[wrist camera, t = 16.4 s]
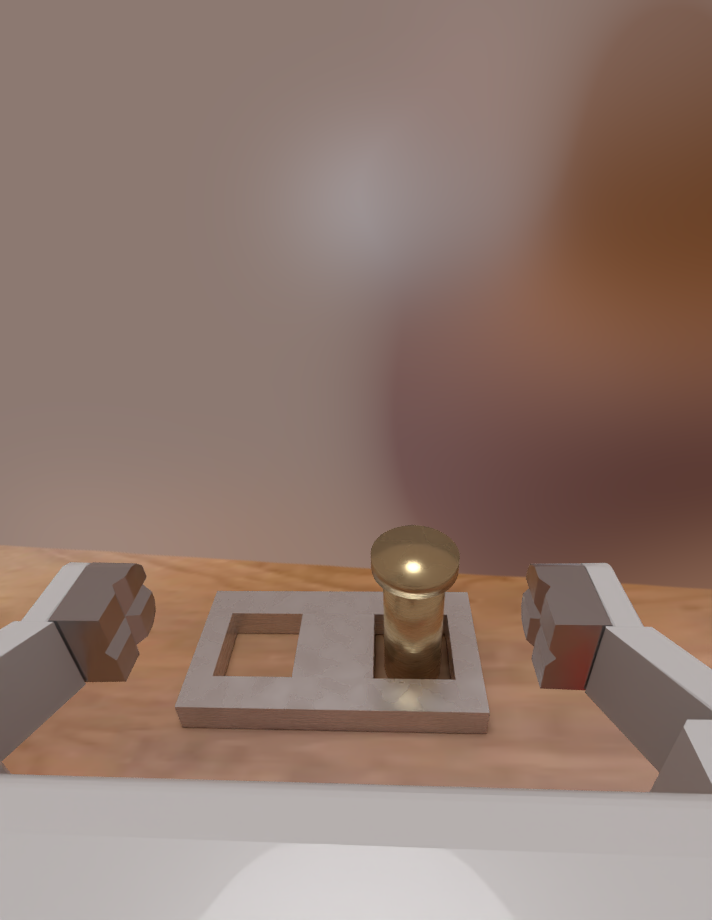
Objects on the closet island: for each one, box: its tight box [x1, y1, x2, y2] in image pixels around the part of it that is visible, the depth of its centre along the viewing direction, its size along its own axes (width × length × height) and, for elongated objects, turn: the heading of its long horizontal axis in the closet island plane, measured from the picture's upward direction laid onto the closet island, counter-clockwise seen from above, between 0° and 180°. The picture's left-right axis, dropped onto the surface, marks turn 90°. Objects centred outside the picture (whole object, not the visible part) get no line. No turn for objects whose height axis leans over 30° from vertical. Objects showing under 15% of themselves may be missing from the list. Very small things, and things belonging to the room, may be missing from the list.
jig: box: [175, 591, 490, 734], centre depth 41 cm, size 22×11×2 cm, turn 87°
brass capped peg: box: [371, 525, 460, 679], centre depth 38 cm, size 6×6×12 cm
